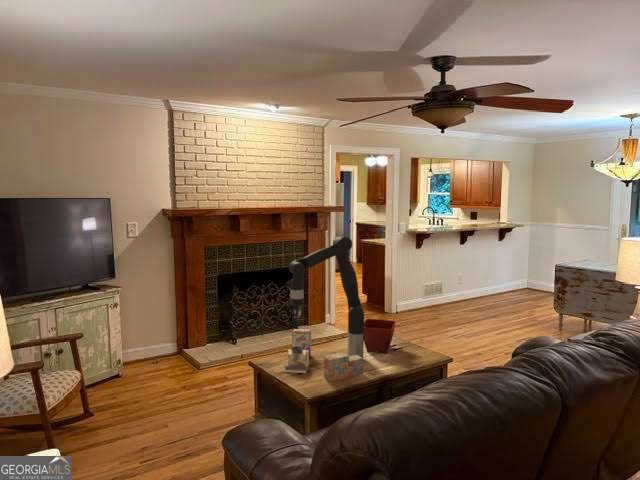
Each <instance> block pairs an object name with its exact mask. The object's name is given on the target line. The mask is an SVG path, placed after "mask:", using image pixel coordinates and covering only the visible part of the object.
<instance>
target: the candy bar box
mask: <svg viewBox="0 0 640 480" xmlns="http://www.w3.org/2000/svg"><path fill="white" fill-rule="evenodd" d="M291 335H292V338H291V342H292V343H291V344H292V345H295V346H303V350H309V357H310V358H311V355H312V329H304V328H303V329H302V328H299V329H298V328H293V329H292V334H291ZM292 345H291V346H292Z"/></svg>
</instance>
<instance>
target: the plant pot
mask: <svg viewBox="0 0 640 480" xmlns="http://www.w3.org/2000/svg"><path fill="white" fill-rule="evenodd" d="M395 326H396V321H395V320H389V319H375V318H366V319H364V337H363V345H364V346H365V349H366V351H367V352H371V353H382V354H387V353H388V352H389V350H390V347H391V345H392V341H393V339H394V338H393V337H394V334H395Z"/></svg>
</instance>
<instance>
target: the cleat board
mask: <svg viewBox="0 0 640 480" xmlns="http://www.w3.org/2000/svg"><path fill="white" fill-rule="evenodd" d="M289 351H292V349H287V354H288V353H289ZM303 351H305V352H306V366H294V365H288V363H287V364H285V367H284V372H285V373H297V374H298V373H301V374H306V373H307V371H308V368H309V366H308V365H309V364H310V362H309V360H310V359H309V350H303Z"/></svg>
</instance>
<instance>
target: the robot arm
mask: <svg viewBox="0 0 640 480" xmlns="http://www.w3.org/2000/svg"><path fill="white" fill-rule="evenodd" d="M352 247H353V241H352V240H351V238H350V237H347V236H337V237H336V236H335V238H333V241H332V244H331V245H329V246H326V248H321V249H319V250H317V251H313V252H312V253H310V254H308V255H306V256H304V257H300V258H298V259H295V260H293V261H292V262H290V263H289V265H288V270H289V272H290V273H291V274H292V279H291V280H290V292H289V295H290V296H289V297H290V298H289V301H290V303H289V304H290V306H291V307H293V308H292V321H293V328H299V324H300V323H301V314H302V308H301V307H302V306H304V303H305V301H304V298H305V295H304V279H305V274H306V270H305V269H311V268H313V267H315V266H317V265H320V264H321V263H323V262H325V261H326V260H329V259H330V258H333V257H335V258H336V260H337V261H336V262H337V264H338V265H337V266H338V271H339V275H340V281H341V285H342V288H343V289H342V290H343V291H344V294H345V297H346V300H347V308H348V309H347V312H348V314H347V315H348V316H347V317H348V318H347V321H348V322H347V333H348V334H347V336H348V337H347V355H349V356H353V355H358V356H360V357H362V358H363V359H364V340H363V337H364V322H365V312H364V308H363V305H362V302H361V298H360V294H359V284H358V278H357V273H356V270H355V268H354V266H353V265H352V263H351V261H350V258H349V253H348V252H349V251H351V249H352Z"/></svg>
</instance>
